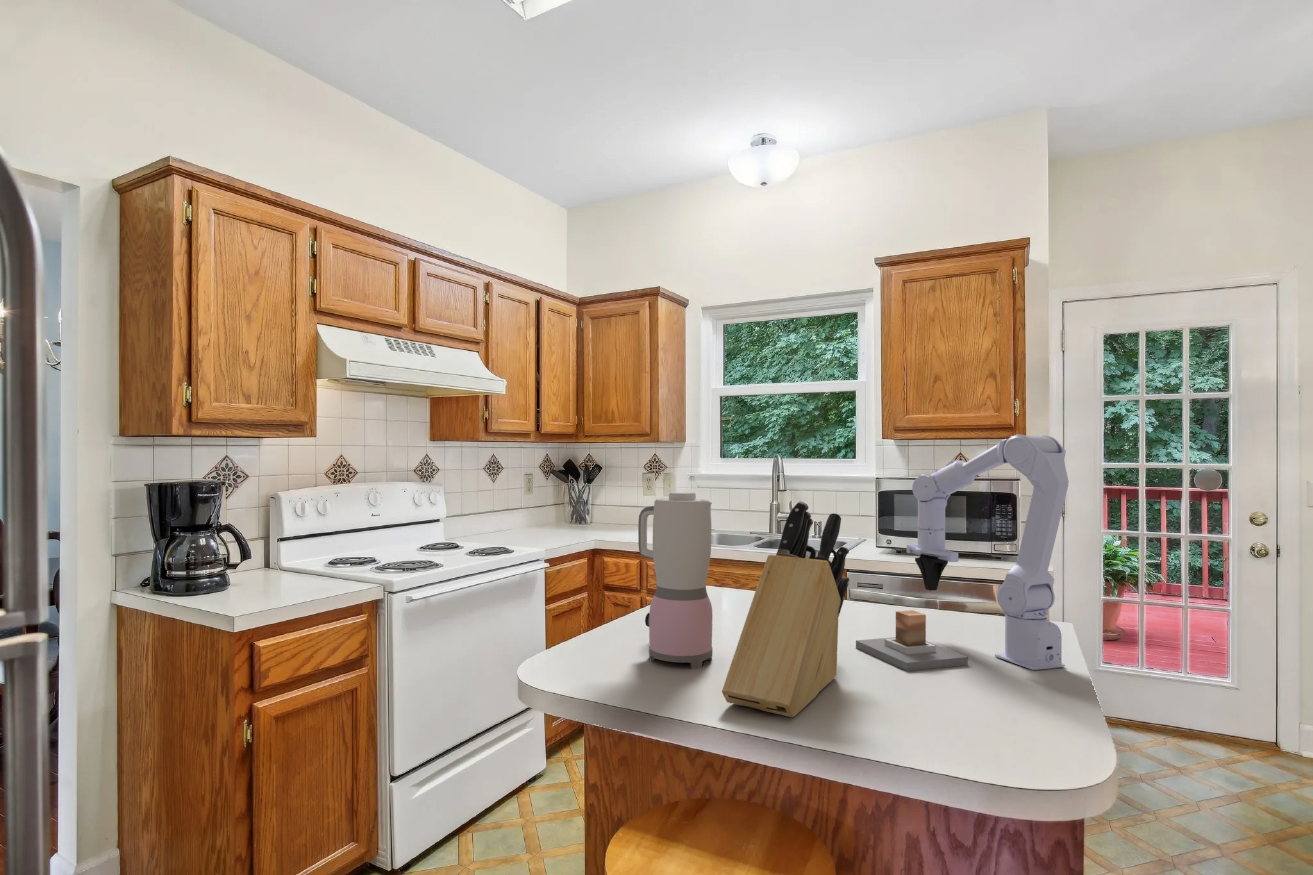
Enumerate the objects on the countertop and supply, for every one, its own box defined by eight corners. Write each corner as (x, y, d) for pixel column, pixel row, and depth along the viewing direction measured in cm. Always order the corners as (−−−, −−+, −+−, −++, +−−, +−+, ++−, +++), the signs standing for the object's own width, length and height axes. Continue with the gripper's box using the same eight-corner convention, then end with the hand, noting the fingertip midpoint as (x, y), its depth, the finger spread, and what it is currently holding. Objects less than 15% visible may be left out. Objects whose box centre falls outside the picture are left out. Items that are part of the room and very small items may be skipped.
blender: (722, 656, 135) (724, 492, 136) (697, 673, 124) (699, 495, 125) (651, 645, 142) (653, 489, 143) (621, 660, 131) (624, 492, 132)
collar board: (967, 664, 131) (968, 650, 131) (906, 670, 127) (906, 656, 127) (912, 642, 147) (912, 630, 147) (855, 647, 142) (855, 634, 142)
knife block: (853, 665, 130) (854, 501, 131) (790, 726, 100) (792, 513, 101) (795, 655, 136) (797, 498, 137) (719, 711, 106) (722, 509, 106)
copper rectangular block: (925, 650, 136) (925, 614, 136) (908, 651, 134) (908, 615, 135) (912, 644, 139) (912, 610, 140) (895, 646, 138) (895, 611, 138)
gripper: (895, 526, 160) (895, 584, 160) (939, 532, 147) (939, 597, 146) (920, 525, 163) (920, 583, 162) (966, 532, 149) (966, 595, 148)
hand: (931, 589), depth 154 cm, fingers closed
